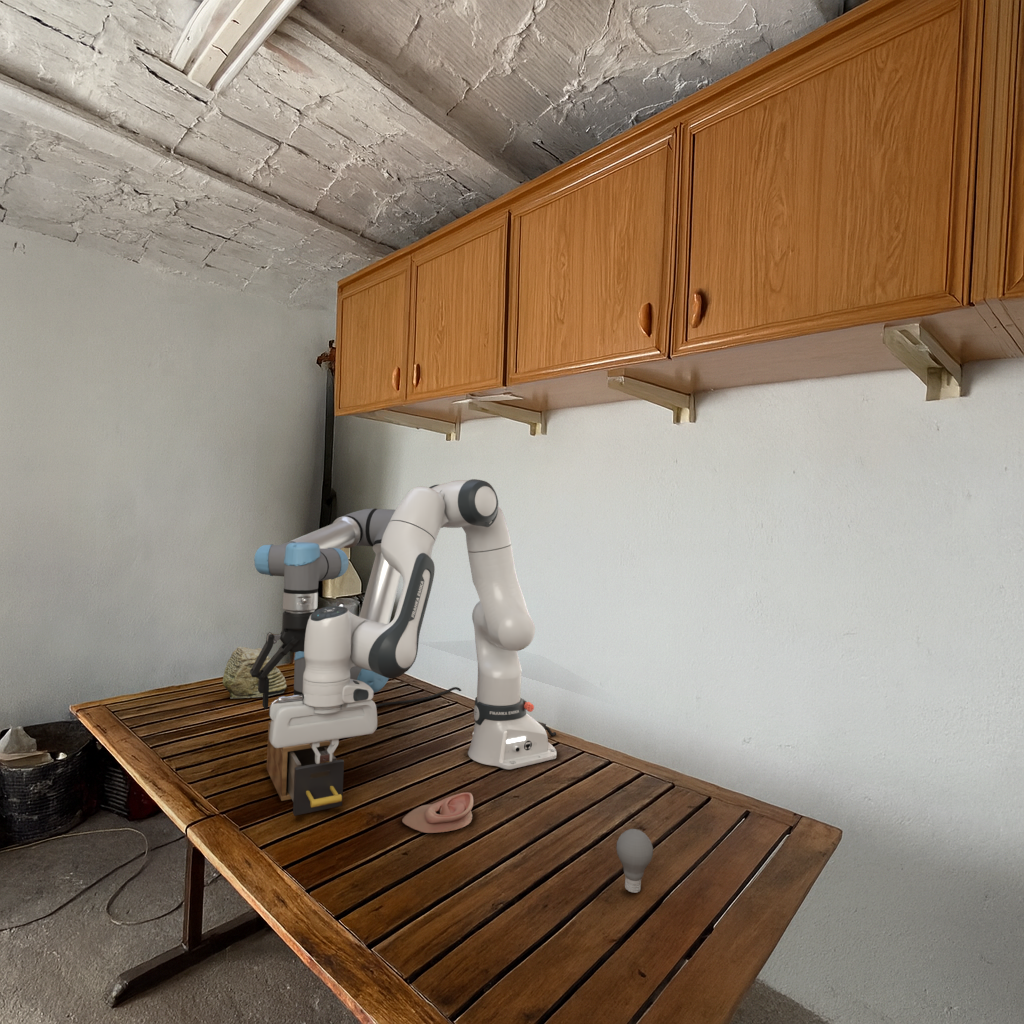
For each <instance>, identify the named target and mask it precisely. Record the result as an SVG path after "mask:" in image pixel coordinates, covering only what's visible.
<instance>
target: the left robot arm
mask: <svg viewBox="0 0 1024 1024" xmlns="http://www.w3.org/2000/svg"><path fill="white" fill-rule="evenodd" d="M395 510H396V509H387V508H376V507H375V508H374V507H372V508H363V509H360V510H356V511H352V512H350V513H347V514H345V515H341V516H340V517H337V518H336V519H335V520H334V521H333V522H332V523H330V524H329V525H328V524H327V525H326V526H323V527H321V528H319V529H316V530H314V531H311V532H309V533H306V534H304V535H301V536H299V537H296V538H294V539H292V540H289V541H286V542H283V543H281V544H274V543H273V544H264V545H261V546H260V547H258V548H257V550H255V554H254V557H253V558H254V559H253V560H254V568H255V570H256V571H257V572H258V573H259V574H261V575H267V576H270V577H283V593H282V594H283V595H282V596H283V598H282V609H283V610H284V611H283V612H282V619H281V620H282V623H281V626H282V627H281V632H280V633H272V632H267V633H266V637H265V643H264V644H263V646H262V648H261V649H262V650H261V652H260V654H259V656H258V657H257V659H256V661H255V663H254V665H253V667H252V668H251V670H250V674H251V676H252V677H256V678H258V691H259V693H263V697H262V704H261V705H262V707H263V709H264V710H266V709H268V710H269V697H270V696H269V678H268V677H267V675H268V674H269V673H270V672H271V671H272V670H273V668H274V667H275V666H276V667H277V665H278V664H279V663H280V662H281V660H283V658H284V657H285V656H286V655H287V654H289V652H291V653H295V654H294V659H293V660H294V672H293V695H299V694H302V693H303V674H304V671H305V667H306V661H305V658H304V643H305V633H306V627H307V623H308V620H309V617H310V615H311V614H312V613H313V612H315V611H316V610H318V609H319V608H318V604H319V603H318V602H319V582H322V581H328V580H335V579H338V578H340V577H342V576H344V575H345V574H346V573H347V571H348V568H349V564H350V563H349V557H348V555H347V553H346V552H345V551H343V548H344V549H351V548H354V547H372V550H373V552H374V553H375V557H374V560H373V565H372V568H371V570H370V571H371V572H370V576H369V578H368V579H369V580H368V582H367V586H366V589H365V593H364V598H363V601H362V603H361V609H360V613H359V615H358V617H361V618H364V619H367V620H372V621H375V622H379V623H384V624H389V623H390V622H391V619H392V618H391V617H392V614H393V610H394V606H395V601H396V598H397V593H398V591H399V586H400V582H401V578H402V575H401V574H400V573H399V572H398V571H396V570H395V569H394V568H393V567H391V566H390V565H389V564H388V563H387V561H386V560H385V558H384V556H383V554H382V551H381V541H382V537H383V534H384V532H385V530H386V528H387V526H388V524H389V521H390V519H391V517H392V515H393V514H394V512H395ZM278 641H281V643H282V644H281V645H280V646H279V648H278V649H277V651H276V652H275V653H274V654H273V655H272V657H270V658H271V659H270V660H269V661H268V663H267V664H266V665H265V666H264V667H263V668H262V670H261V671H260V669H261V667H262V665H263V664H264V662H265V660H266V658H267V656H269V654H270V652H271V651H272V648H273V647H274V645H275V644H277V642H278ZM350 679H354V680H359V681H363V682H364V683H366V684H367V685H369V686H370V687H371V688H372V690H373V691H374V694H376V693H378V692H380V691H381V690H382V689H383V688H384V687H385V685H386V684H387V683H388V681H389V679H390V678H387V677H384V676H382V675H380V674H377V673H375V672H373V671H370V670H366V669H362V668H359V667H357V666H354V667H351V669H350ZM455 690H457V692H462V691H463V690H462V689H461V688H460V687H458V686H453V687H451V688H449V689H446V690H443V691H440V692H438V693H434V694H432V695H428V696H424V697H418V698H412V699H407V700H405V699H404V700H397V701H388V702H387V701H386V702H381V703H378V704H375V705H376V709H378V708H380V707H385V706H390V705H401V704H409V703H415V702H422V701H427V700H431V699H433V698H437V697H439V696H441V695H445V694H448V693H450V692H453V691H455Z"/></svg>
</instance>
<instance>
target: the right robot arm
mask: <svg viewBox="0 0 1024 1024" xmlns="http://www.w3.org/2000/svg"><path fill="white" fill-rule="evenodd" d="M394 510H395V512H394V514H393V515H392V517H391V519H390V521H389V524H388V526H387V528H386V530H385V532H384V534H383V537H382V541H381V551H382V554H383V556H384V558H385V560H386V561H387V563H388V564H389V565H390V566H391V567H393V568H394V569H395V570H396V571H398V572H399V573H400V574H401V578H402V580H403V582H402V583H403V585H402V589H401V593H400V596H399V600H398V603H397V606H396V609H395V613H394V617H393V619H392V620H390V622H389V624H384V623H379V622H375V621H372V620H367V619H364V618H361V617H359V615H356V614H355V613H353V612H351V611H350V610H349V608H347V607H345V606H340V605H333V606H324V607H320V608H317V609H316V610H315V612H313V613H312V614H311V615H310V617H309V620H308V623H307V627H306V633H305V643H304V658H305V661H306V667H305V671H304V674H303V693H302V694H299V695H294V694H293V695H283V696H278V698H276V699H274V700H273V701H271V704H269V707H268V710H269V711H268V716H269V719H270V722H271V725H270V731H269V741H270V743H271V744H272V746H273V747H275V748H283V747H290V746H296V745H303V744H309V743H310V746H311V748H312V749H313V751H314V752H315V762H316V764H321V763H327V762H332V753H334V754H335V752H336V749H337V748H338V746H339V743H340V740H341V739H347V738H354V737H360V736H367V735H372V734H375V732H376V730H377V728H378V710H377V709H378V708H376V705H377V704H376V703H375V701H374V700H373V698H374V695H375V693H374V691H373V690H372V688H371V687H370V686H369V685H367V684H366V683H364V682H363V681H359V680H354V679H350V669H351V667H354V666H357V667H359V668H362V669H366V670H370V671H373V672H375V673H377V674H380V675H382V676H384V677H387V678H389V679H396V678H398V677H402V675H404V674H405V673H407V672H408V671H409V670H410V669H411V668H412V667H413V665H414V664H415V662H416V659H417V657H418V653H419V643H420V642H419V641H420V633H421V630H422V625H423V622H424V618H425V614H426V611H427V606H428V602H429V600H430V599H429V598H430V594H431V591H432V588H433V583H434V579H435V572H436V571H435V569H436V568H435V562H434V560H433V559H432V553H433V548H434V546H435V544H436V541H437V539H438V535H439V532H440V530H441V529H442V528H449V529H450V528H451V529H459V528H462V529H463V532H464V533H465V541H466V549H467V555H468V562H469V566H470V573H471V579H472V583H473V585H474V587H475V590H476V592H477V593H476V594H477V596H478V598H479V601H478V602H477V603H476V604H475V605H474V607H473V610H472V612H471V614H472V615H471V619H472V623H473V628H474V642H475V651H476V661H477V683H476V697H475V699H474V706H473V720H474V725H473V732H472V737H471V741H470V744H469V748H468V751H467V756H468V757H469V758H470V759H471V760H472V761H474V762H476V763H479V764H482V765H486V766H492V767H498V768H500V769H503V770H514V769H517V768H523V767H526V766H531V765H535V764H539V763H543V762H544V763H545V762H547V761H552V760H555V759H557V757H558V753H557V749H556V748H555V746H553V745H552V744H551V743H550V742H549V738H548V737H549V736H551V737H555V736H556V735H557V732H556V731H553V732H552V730H551V728H550V727H549V726H547V723H544V722H540V721H537V720H536V719H535V718H534V717H533V716H531V715H530V714H529V713H532V712H534V710H535V705H534V704H533V703H532V702H530V701H527V700H526V699H524V698H522V697H521V695H522V675H523V669H522V665H521V662H520V657H519V651H522V650H524V649H526V648H528V647H529V646H530V645H531V643H532V642H533V640H534V638H535V634H536V626H535V622H534V620H533V617H532V616H531V614H530V612H529V610H528V605H527V601H526V599H525V596H524V593H523V591H522V587H521V585H520V581H519V578H518V575H517V570H516V564H515V559H514V558H515V557H514V550H513V545H512V541H511V535H510V530H509V526H508V524H507V520H506V518H505V515H504V512H503V510H502V508H501V507H500V506H499V499H498V495H497V492H496V490H495V489H494V487H493V485H492V484H491V483H489V482H488V481H486V480H482V479H477V478H472V479H459V480H451V481H448V482H444V483H441V484H433V485H431V486H429V487H428V486H423V485H422V486H421V485H420V486H419V485H418V486H414V487H412V488H411V489H409V490H408V491H407V493H406V494H405V495H404V496H403V498H402V500H400V502H399V504H398V505H397V507H396V508H395V509H394ZM527 712H529V713H527ZM547 733H548V734H547ZM548 735H549V736H548ZM322 741H329V742H330V745H329V747H328V749H327V751H322V752H319V751H318V750H317V748H316V747H319V746H320V742H322Z"/></svg>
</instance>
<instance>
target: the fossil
mask: <svg viewBox="0 0 1024 1024" xmlns="http://www.w3.org/2000/svg"><path fill="white" fill-rule="evenodd" d="M261 650H262V648H260V647H258V648H251V647H247V646H246V647H245V646H238V647H237V648H236V649H235V650H233V651H232V653H231V656H230V657H229V659H228V660H227V663H226V666H225V668H224V671H223V675H222V676H223V677H222V685H223V687H224V688H225V690H226V691H228V693H229V698H230V699H250V698H263V693H259V691H258V678H256V677H252V676H251V674H250V670H251V668H252V667H253V665H254V663H255V661H256V659H257V657H258V656H259V654H260V652H261ZM271 658H272V657H270V656H269V655H268V656H267V658H266V660H265V662H264V664H263V665H262V667H261V669H260V671H261V670H262V668H263V667H264V666H265V665H266V664H267V663H268V661H269V660H270V659H271ZM267 677H268V678H269V697H271V696H275V695H281V694H284V693H285V691H286V689H287V687H288V686H287V680H286V678H285V676H284V674H283V673H282V672H281V669H279V668H278V667H277V665H276V666H275V667H274V668H273V670H272V671H271V672H270V673H269V674H268V675H267Z"/></svg>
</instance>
